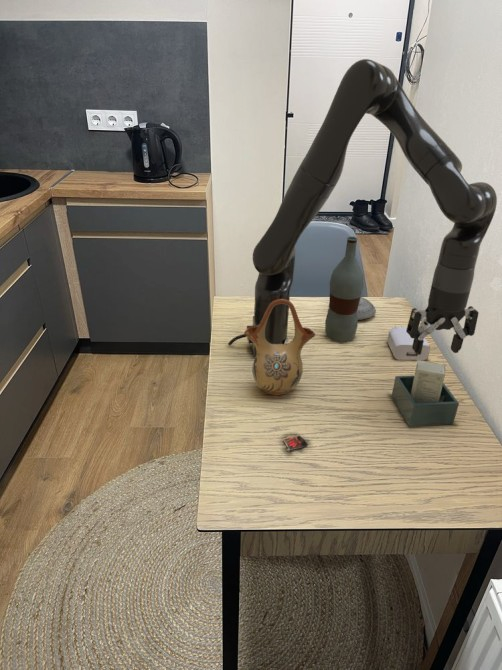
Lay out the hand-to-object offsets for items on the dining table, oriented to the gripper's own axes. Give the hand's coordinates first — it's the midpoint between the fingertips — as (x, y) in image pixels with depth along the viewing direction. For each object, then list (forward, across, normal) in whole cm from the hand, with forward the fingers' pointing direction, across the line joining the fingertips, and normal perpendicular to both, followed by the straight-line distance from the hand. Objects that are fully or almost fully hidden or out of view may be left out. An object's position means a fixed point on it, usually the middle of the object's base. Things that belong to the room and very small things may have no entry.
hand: (435, 352), depth 109 cm
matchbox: (+16, +32, +9) cm, 37 cm away
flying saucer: (+16, +2, -51) cm, 53 cm away
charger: (+16, -7, -29) cm, 34 cm away
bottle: (+16, +10, -36) cm, 41 cm away
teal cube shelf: (+16, 0, 0) cm, 16 cm away
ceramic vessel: (+16, +33, -10) cm, 38 cm away
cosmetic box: (+16, 0, 0) cm, 16 cm away
